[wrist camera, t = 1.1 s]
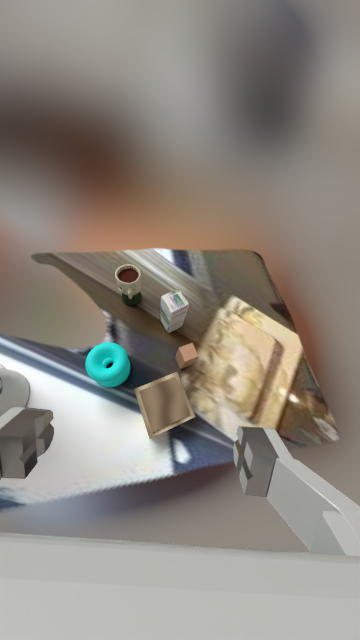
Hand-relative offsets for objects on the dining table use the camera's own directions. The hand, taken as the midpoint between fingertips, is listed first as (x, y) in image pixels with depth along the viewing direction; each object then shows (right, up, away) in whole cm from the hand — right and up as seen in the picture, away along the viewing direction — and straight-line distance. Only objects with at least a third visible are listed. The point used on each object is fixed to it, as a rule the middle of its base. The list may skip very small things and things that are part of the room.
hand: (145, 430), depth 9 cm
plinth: (-3, -18, +47) cm, 50 cm away
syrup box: (-1, +4, +58) cm, 58 cm away
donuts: (-18, -9, +50) cm, 53 cm away
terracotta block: (+3, -7, +53) cm, 54 cm away
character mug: (-15, +12, +60) cm, 63 cm away
